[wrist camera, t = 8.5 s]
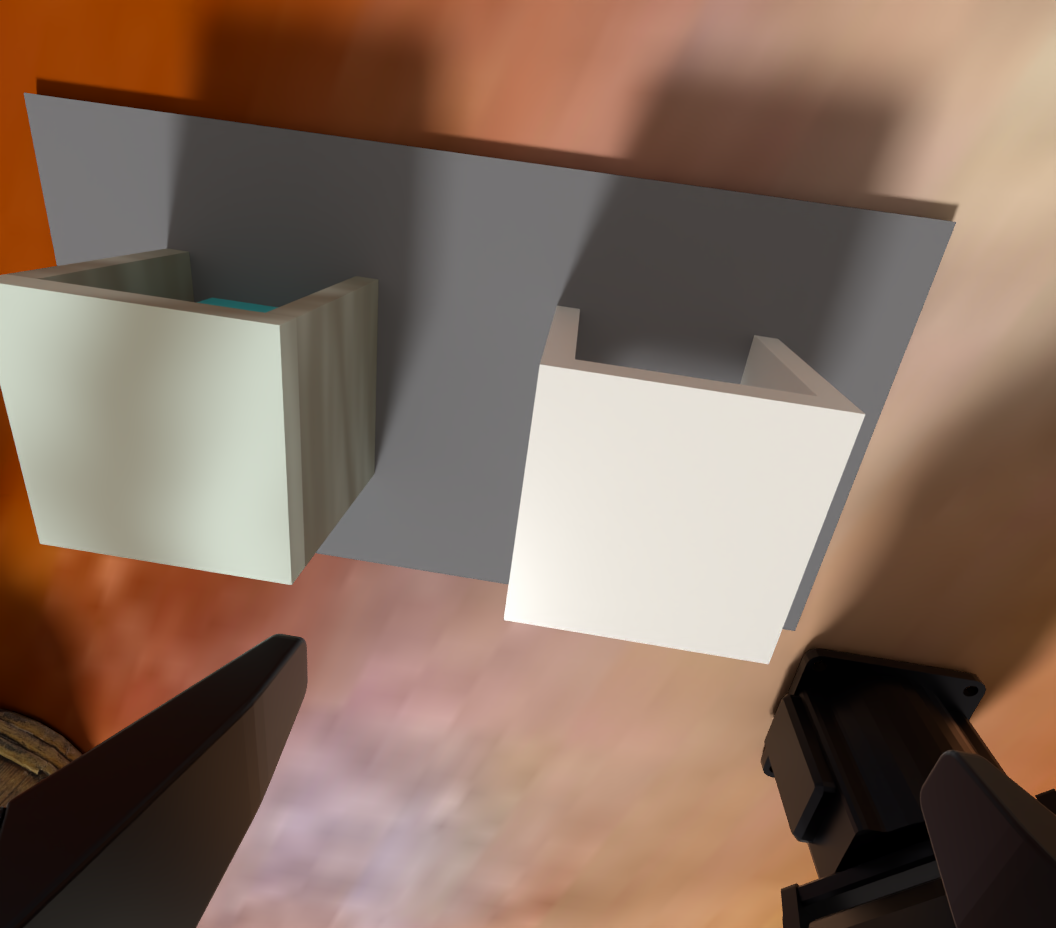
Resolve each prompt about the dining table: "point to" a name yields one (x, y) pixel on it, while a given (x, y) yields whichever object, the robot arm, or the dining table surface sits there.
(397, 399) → the mat
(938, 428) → the dining table surface
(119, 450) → the cover
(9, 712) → the wooden mug
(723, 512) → the cover
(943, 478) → the dining table surface
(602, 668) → the dining table surface
